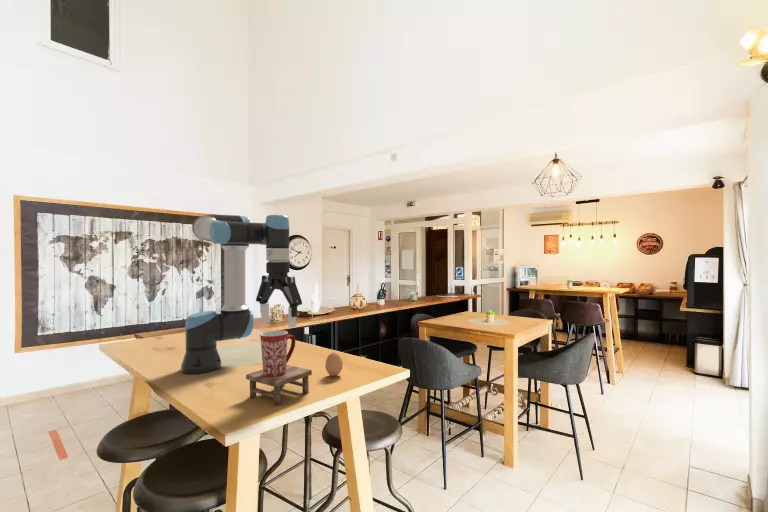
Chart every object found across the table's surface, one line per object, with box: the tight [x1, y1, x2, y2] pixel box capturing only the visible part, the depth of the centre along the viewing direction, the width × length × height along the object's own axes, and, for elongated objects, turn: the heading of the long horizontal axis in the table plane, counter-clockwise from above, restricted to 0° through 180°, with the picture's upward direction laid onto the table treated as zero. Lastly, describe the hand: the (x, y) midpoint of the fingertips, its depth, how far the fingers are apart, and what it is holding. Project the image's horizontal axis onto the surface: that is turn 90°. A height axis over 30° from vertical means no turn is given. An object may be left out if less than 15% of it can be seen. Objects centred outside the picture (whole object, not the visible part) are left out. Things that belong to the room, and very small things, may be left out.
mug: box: [259, 330, 296, 377], centre depth 126 cm, size 13×9×14 cm
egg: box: [325, 351, 344, 377], centre depth 146 cm, size 7×7×9 cm
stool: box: [245, 364, 313, 406], centre depth 126 cm, size 15×15×8 cm
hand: (278, 324), depth 127 cm, fingers open, 13 cm apart
